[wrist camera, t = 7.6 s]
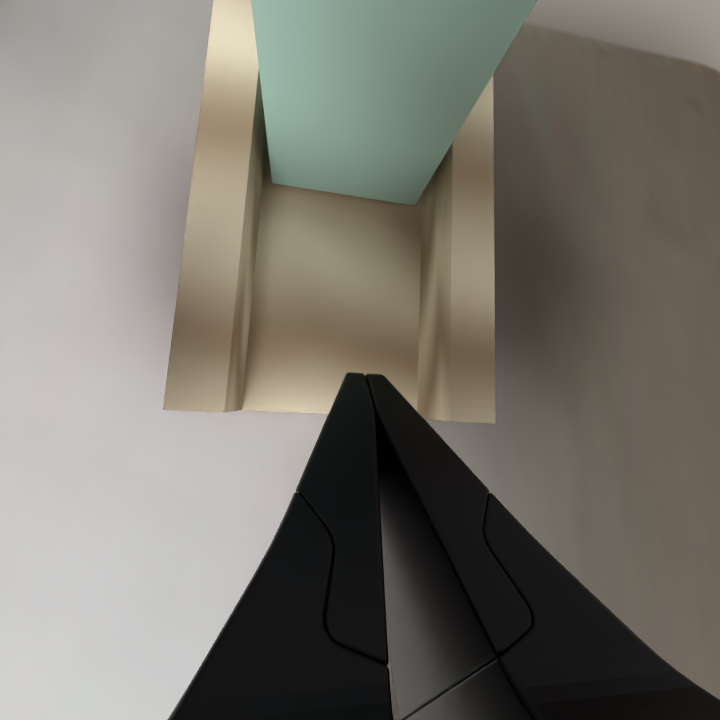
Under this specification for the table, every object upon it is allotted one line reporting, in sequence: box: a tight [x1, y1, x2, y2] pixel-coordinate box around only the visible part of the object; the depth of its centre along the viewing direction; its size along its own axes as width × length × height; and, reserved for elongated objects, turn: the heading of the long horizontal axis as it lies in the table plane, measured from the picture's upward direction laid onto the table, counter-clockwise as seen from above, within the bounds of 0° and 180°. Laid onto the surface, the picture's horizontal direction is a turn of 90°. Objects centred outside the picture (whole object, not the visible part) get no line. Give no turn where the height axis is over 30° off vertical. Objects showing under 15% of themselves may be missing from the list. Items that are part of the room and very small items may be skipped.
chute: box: [163, 0, 495, 423], centre depth 13 cm, size 17×10×4 cm, turn 177°
